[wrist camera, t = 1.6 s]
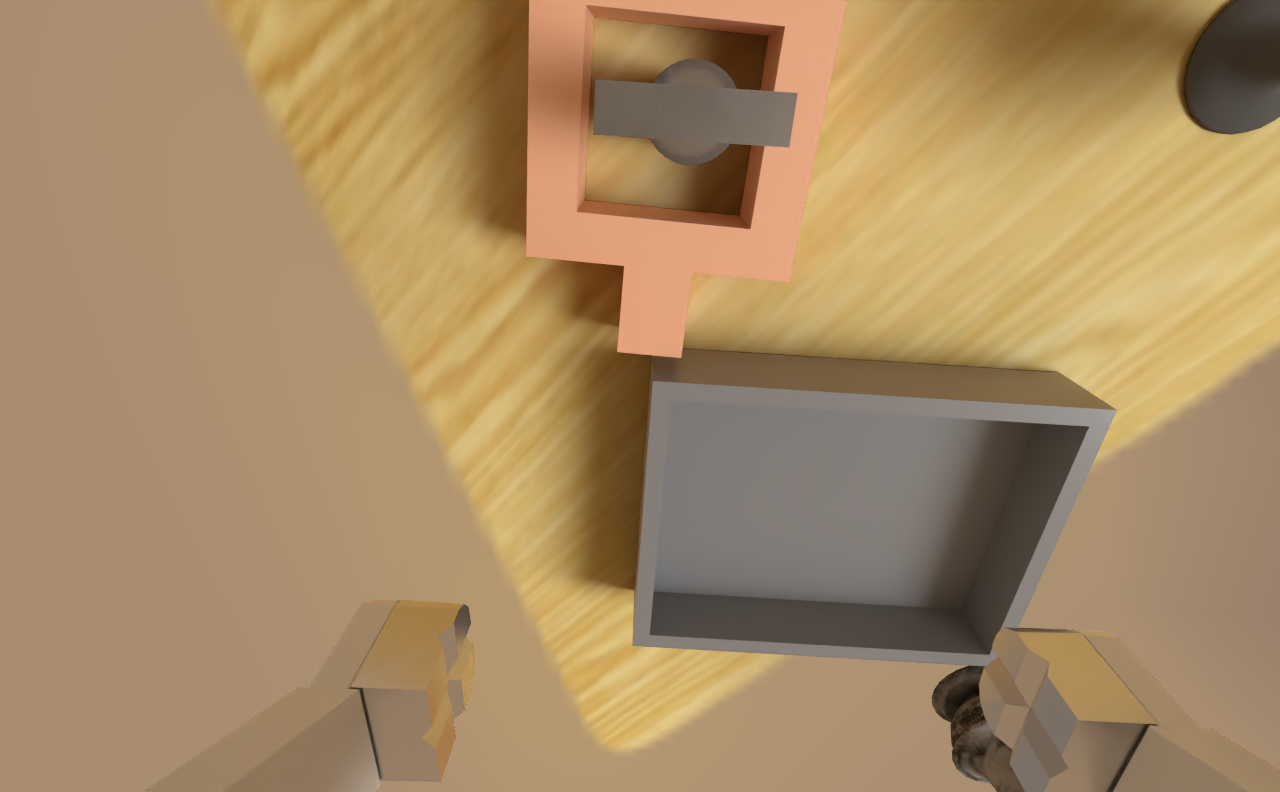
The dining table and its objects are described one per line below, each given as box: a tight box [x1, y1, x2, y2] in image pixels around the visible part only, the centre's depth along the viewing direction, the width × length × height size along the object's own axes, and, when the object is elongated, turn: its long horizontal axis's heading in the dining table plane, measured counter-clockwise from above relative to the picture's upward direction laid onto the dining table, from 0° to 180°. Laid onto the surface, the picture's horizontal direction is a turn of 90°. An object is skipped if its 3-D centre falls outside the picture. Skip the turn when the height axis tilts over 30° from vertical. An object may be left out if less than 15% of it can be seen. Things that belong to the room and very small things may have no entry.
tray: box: [633, 349, 1117, 666], centre depth 29 cm, size 15×19×4 cm
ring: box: [526, 0, 847, 358], centre depth 23 cm, size 14×10×3 cm
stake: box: [594, 59, 798, 165], centre depth 19 cm, size 2×5×10 cm, turn 87°
